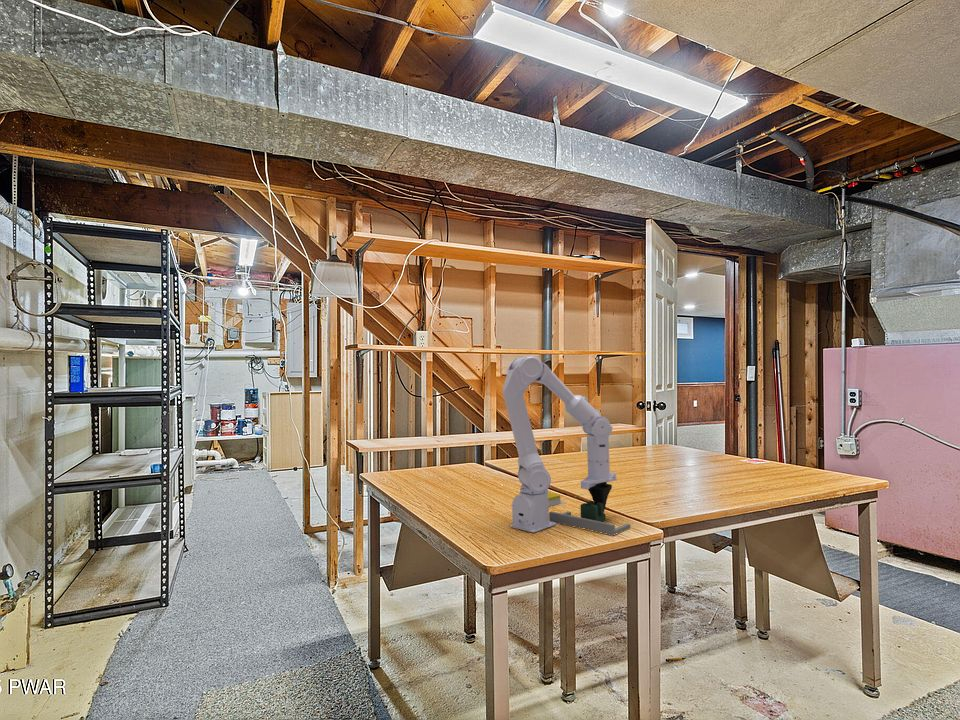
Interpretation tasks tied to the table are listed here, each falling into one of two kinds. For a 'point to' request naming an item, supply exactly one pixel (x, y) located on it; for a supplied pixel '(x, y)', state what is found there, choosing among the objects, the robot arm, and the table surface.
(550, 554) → the table surface
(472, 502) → the table surface
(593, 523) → the u-shaped gray bracket
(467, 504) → the table surface
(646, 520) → the table surface
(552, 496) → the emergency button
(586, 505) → the mount
